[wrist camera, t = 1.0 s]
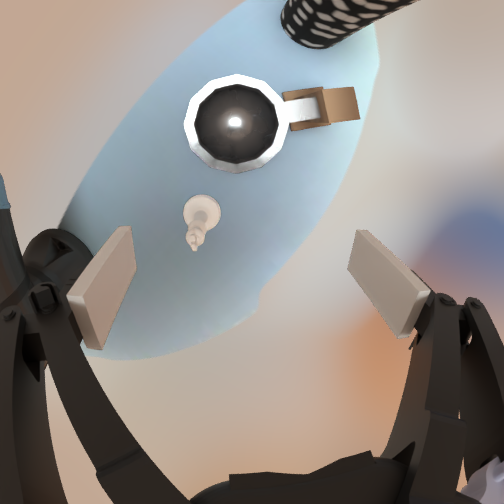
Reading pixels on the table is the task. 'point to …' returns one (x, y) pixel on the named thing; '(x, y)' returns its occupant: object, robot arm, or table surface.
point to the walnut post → (326, 106)
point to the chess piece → (200, 218)
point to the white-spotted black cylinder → (332, 19)
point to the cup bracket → (241, 122)
